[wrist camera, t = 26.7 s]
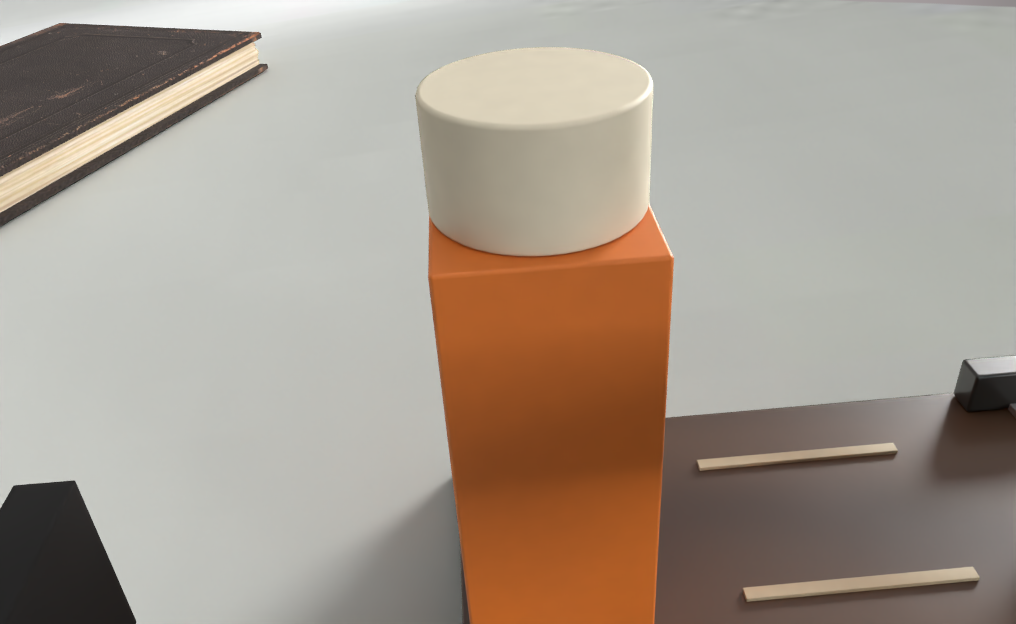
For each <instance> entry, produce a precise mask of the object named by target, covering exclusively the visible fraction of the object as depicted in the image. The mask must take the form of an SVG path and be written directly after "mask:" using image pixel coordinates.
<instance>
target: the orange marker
mask: <svg viewBox="0 0 1016 624" xmlns="http://www.w3.org/2000/svg"><path fill="white" fill-rule="evenodd" d="M415 97H416V106H417V115H418V123H419V132H420V141H421V150H422V158H423V167H424V176H425V184H426V193H427V202H428V210H429V269H428V280H429V288H430V296H431V304H432V313H433V321H434V329H435V338H436V346H437V354H438V362H439V371H440V379H441V387H442V396H443V404H444V412H445V421H446V429H447V437H448V445H449V454H450V462H451V470H452V479H453V487H454V495H455V503H456V512H457V520H458V528H459V537H460V545H461V553H462V561H463V570H464V578H465V586H466V595H467V603H468V611H469V620H470V624H654V617H655V599H656V580H657V562H658V543H659V524H660V506H661V487H662V469H663V450H664V432H665V413H666V395H667V376H668V358H669V339H670V321H671V302H672V283H673V265H674V258H673V255H672V253H671V251H670V249H669V246H668V244H667V242H666V240H665V238H664V236H663V233H662V231H661V229H660V227H659V225H658V222H657V220H656V218H655V216H654V214H653V211H652V209H651V207H650V205H649V196H650V168H651V140H652V111H653V81H652V79H651V76H650V74H649V73H648V72H647V71H646V69H644V68H643V67H642V66H640V65H639V64H637V63H635V62H633V61H631V60H628V59H626V58H623V57H620V56H617V55H613V54H609V53H604V52H600V51H594V50H587V49H578V48H564V47H535V48H520V49H510V50H503V51H496V52H490V53H485V54H480V55H476V56H472V57H469V58H465V59H462V60H459V61H456V62H453V63H450V64H448V65H446V66H443V67H441V68H439V69H437V70H435V71H434V72H432V73H430V74H429V75H428V76H426V77H425V78H424V79H423V80H422V81H421V82H420V84H419V86H418V88H417V91H416V95H415Z"/></svg>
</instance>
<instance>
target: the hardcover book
mask: <svg viewBox="0 0 1016 624" xmlns="http://www.w3.org/2000/svg"><path fill="white" fill-rule="evenodd" d="M260 38H262V37H261V33H259V32H242V31H220V30H199V29H177V28H155V27H133V26H112V25H90V24H68V23H59V24H57V25H54V26H51V27H49V28H46V29H44V30H41V31H38V32H36V33H33V34H31V35H28V36H25V37H23V38H20V39H18V40H15V41H12V42H10V43H7V44H5V45H2V46H0V226H2V225H4V224H5V223H7V222H9V221H10V220H12V219H14V218H15V217H17V216H19V215H21V214H22V213H24V212H26V211H27V210H29V209H31V208H32V207H34V206H36V205H38V204H39V203H41V202H43V201H44V200H46V199H48V198H49V197H51V196H53V195H54V194H56V193H58V192H60V191H61V190H63V189H65V188H66V187H68V186H70V185H71V184H73V183H75V182H77V181H78V180H80V179H82V178H83V177H85V176H87V175H88V174H90V173H92V172H93V171H95V170H97V169H99V168H100V167H102V166H104V165H105V164H107V163H109V162H110V161H112V160H114V159H116V158H117V157H119V156H121V155H122V154H124V153H126V152H127V151H129V150H131V149H132V148H134V147H136V146H138V145H139V144H141V143H143V142H144V141H146V140H148V139H149V138H151V137H153V136H155V135H156V134H158V133H160V132H161V131H163V130H165V129H166V128H168V127H170V126H171V125H173V124H175V123H177V122H178V121H180V120H182V119H183V118H185V117H187V116H188V115H190V114H192V113H194V112H195V111H197V110H199V109H200V108H202V107H204V106H205V105H207V104H209V103H210V102H212V101H214V100H216V99H217V98H219V97H221V96H222V95H224V94H226V93H227V92H229V91H231V90H233V89H234V88H236V87H238V86H239V85H241V84H243V83H244V82H246V81H248V80H249V79H251V78H253V77H255V76H256V75H258V74H260V73H261V72H263V71H265V70H266V69H267V68H268V66H267V64H259V60H258V52H259V51H258V50H257V49H256V48H255V44H254V43H253V42H254V41H256V40H258V39H260Z"/></svg>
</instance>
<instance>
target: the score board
mask: <svg viewBox="0 0 1016 624" xmlns="http://www.w3.org/2000/svg"><path fill="white" fill-rule="evenodd" d="M460 557H461V590H462V623H463V624H470V620H469V611H468V603H467V595H466V586H465V578H464V570H463V561H462V553H461V545H460ZM654 624H1016V355H1013V356H1001V357H989V358H978V359H966V360H963V362H962V365H961V369H960V373H959V376H958V380H957V383H956V387H955V391H954V393H946V394H935V395H923V396H912V397H900V398H889V399H877V400H866V401H854V402H843V403H831V404H820V405H808V406H796V407H785V408H773V409H762V410H750V411H739V412H727V413H716V414H704V415H693V416H681V417H670V418H665V432H664V450H663V469H662V487H661V506H660V524H659V543H658V562H657V580H656V599H655V617H654Z"/></svg>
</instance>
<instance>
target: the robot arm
mask: <svg viewBox="0 0 1016 624" xmlns="http://www.w3.org/2000/svg"><path fill="white" fill-rule="evenodd" d="M0 624H136V620H135V617H134V615H133V613H132V611H131V608H130V606H129V604H128V601H127V599H126V597H125V594H124V592H123V590H122V588H121V585H120V583H119V581H118V578H117V576H116V574H115V572H114V569H113V567H112V565H111V562H110V560H109V558H108V555H107V553H106V551H105V549H104V546H103V544H102V542H101V539H100V537H99V535H98V533H97V530H96V528H95V526H94V523H93V521H92V519H91V516H90V514H89V512H88V510H87V507H86V505H85V503H84V500H83V498H82V496H81V494H80V491H79V489H78V487H77V484H76V482H75V481H63V482H51V483H39V484H27V485H15V486H13V488H12V490H11V491H10V493H9V495H8V496H7V498H6V500H5V502H4V503H3V505H2V507H1V509H0Z"/></svg>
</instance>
